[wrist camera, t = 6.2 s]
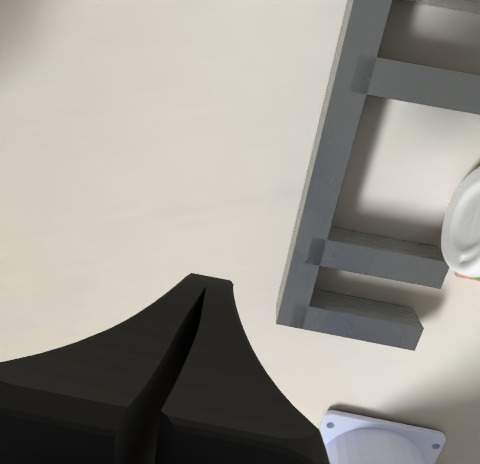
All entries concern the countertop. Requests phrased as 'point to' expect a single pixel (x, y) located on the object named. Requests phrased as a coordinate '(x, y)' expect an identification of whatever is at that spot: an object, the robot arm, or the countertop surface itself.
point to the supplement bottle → (463, 228)
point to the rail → (331, 178)
